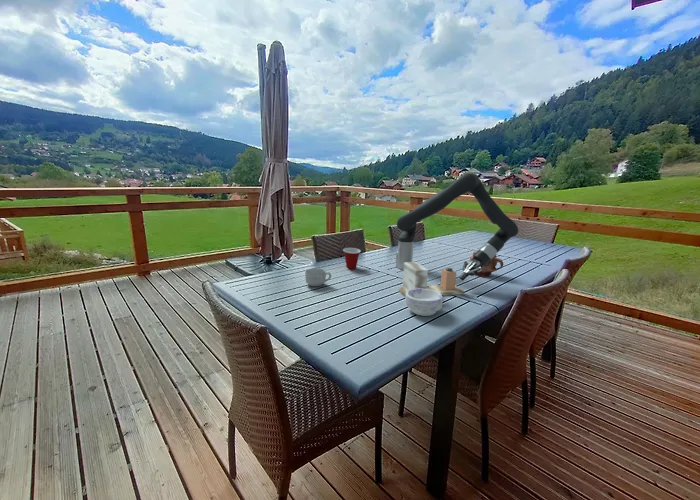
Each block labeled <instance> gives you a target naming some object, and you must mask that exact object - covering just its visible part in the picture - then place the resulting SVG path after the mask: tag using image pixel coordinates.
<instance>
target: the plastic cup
mask: <svg viewBox="0 0 700 500" xmlns="http://www.w3.org/2000/svg"><path fill="white" fill-rule="evenodd" d="M342 250H343V254H344V260H345V266H346V269H347V268H348V269H347V270H350V269H353V270H356V269H357V265H358V262H359V261H358V260H359V256H360V253H361V249H359V248H355V247H345V248H343V249H342ZM355 268H356V269H355Z"/></svg>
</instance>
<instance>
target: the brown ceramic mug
mask: <svg viewBox="0 0 700 500" xmlns="http://www.w3.org/2000/svg"><path fill="white" fill-rule="evenodd" d="M477 251H478V250H475V251H473V253H472V255H470V256H469V257H470V258H469V259H470V260H472V259H473V255H474V254H475V253H476V252H477ZM470 260H469V261H470ZM498 263H499V264H500V267H498V268H497V267H496V266H497V265H498ZM503 267H504V262H503V260H502V258H499V257H497V254H496V255H495V256H494V257H493V258H492V259H491V260H490V261H489V262H488V263H487V264H486V265H485V266H482V268H481V270H482V272H481V273H479V274H476V275H475V276H477V277H481V278H488V277H490V276H492V273H494V272H497V271H499V270H500V269H503Z"/></svg>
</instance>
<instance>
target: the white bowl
mask: <svg viewBox="0 0 700 500" xmlns="http://www.w3.org/2000/svg"><path fill="white" fill-rule="evenodd" d="M443 296H444V295H443ZM443 296H442V294H441V293H439V292H437V291H434V290H430V289H422V288H418V289H411V290H408V291H407V292H406V296H405V297H404V298H405V299H404V304H405V306H406V307H407V308H408V309H410V311H411V313H413V314H415V315H417V316H423V317H430V316H433V315H435V314H436V313H437V312H438V311H440V310H442V308H443V301H444V297H443Z"/></svg>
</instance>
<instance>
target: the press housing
mask: <svg viewBox="0 0 700 500" xmlns="http://www.w3.org/2000/svg"><path fill="white" fill-rule="evenodd" d="M428 274H429V269H427V268H426V267H424V266H423V265H421V264H419V263H418V262H416V261H412V262H404V270H403V276H402V287H398V292H399V293H400V294H401V295H402V296H403V297H404V298H405V296H406V292H407V291H408V290H411V289H418V288H422V289H430V290H434V291H437V292H439V293H441V294H442V295H443V296H455V294H456V295H464V294H465V290H463V289H462V288H460V287H458V286H457V285H455V289H452V290H445V289H443V288H442V287H441V284H435V285H428Z"/></svg>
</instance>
